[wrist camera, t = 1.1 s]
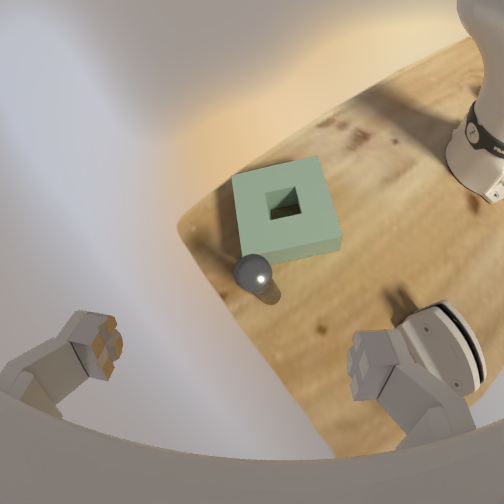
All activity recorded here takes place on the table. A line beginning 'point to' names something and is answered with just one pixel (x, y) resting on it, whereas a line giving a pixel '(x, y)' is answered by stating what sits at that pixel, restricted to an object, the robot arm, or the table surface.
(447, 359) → the grey curved block
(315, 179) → the socket block
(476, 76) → the table surface
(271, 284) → the pin
